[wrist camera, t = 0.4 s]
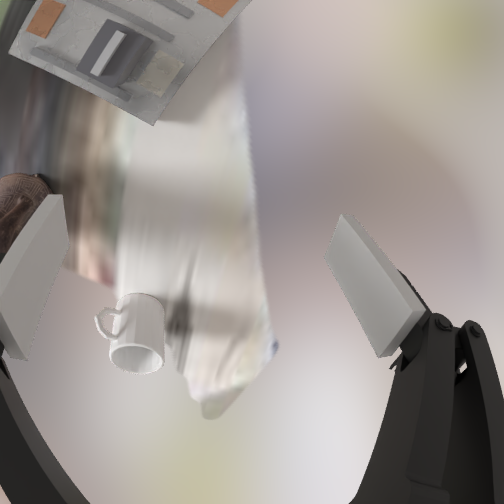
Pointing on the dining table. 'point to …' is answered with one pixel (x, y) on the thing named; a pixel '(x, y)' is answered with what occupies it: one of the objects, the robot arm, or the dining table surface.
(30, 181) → the clay figurine
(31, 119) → the dining table surface
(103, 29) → the block
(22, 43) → the switch unit
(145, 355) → the mug
